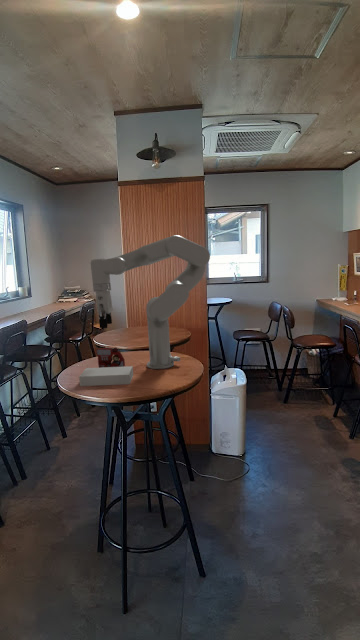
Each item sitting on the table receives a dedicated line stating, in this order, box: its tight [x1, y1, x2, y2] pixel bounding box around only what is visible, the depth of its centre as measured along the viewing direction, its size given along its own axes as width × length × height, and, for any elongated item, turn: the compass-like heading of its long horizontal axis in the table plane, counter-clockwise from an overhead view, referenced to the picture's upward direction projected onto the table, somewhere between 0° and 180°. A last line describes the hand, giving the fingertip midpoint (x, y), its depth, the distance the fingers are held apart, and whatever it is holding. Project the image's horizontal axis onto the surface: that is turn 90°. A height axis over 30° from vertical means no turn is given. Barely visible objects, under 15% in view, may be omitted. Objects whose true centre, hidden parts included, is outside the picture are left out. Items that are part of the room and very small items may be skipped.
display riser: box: [78, 365, 134, 387], centre depth 153 cm, size 20×11×4 cm, turn 90°
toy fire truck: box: [95, 347, 126, 368], centre depth 166 cm, size 7×12×10 cm, turn 82°
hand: (106, 325), depth 164 cm, fingers open, 9 cm apart
